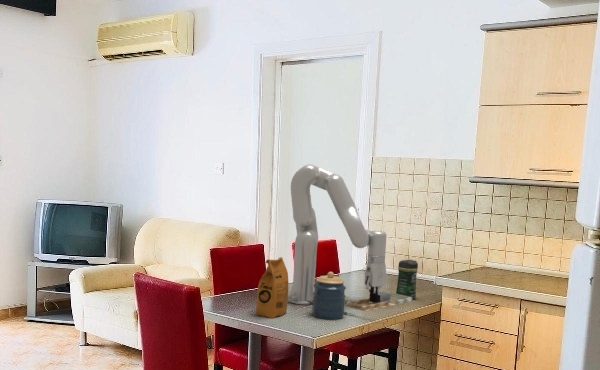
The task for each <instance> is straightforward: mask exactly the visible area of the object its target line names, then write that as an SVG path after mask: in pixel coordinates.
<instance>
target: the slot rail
mask: <svg viewBox="0 0 600 370" xmlns="http://www.w3.org/2000/svg"><path fill="white" fill-rule="evenodd" d="M389 293H391V294H390V297H393V298H397V300H395V303H391V302H388V301H385V302H380V303H376V304H375V303H372V302H370V301H369V298H370V297H367V298H362V299H357V300H351V301H347V302H345V304H344V307H349V308H353V309H357V310H360V311H364V312H368V311H373V310H377V309H382V308H387V307H390V306H391V307H392V306H396V305H401V304H404V303H408V302H413V300H414V299H413V297H408V296H404V295H400V294H396V292H389Z"/></svg>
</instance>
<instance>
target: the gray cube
mask: <svg viewBox="0 0 600 370" xmlns="http://www.w3.org/2000/svg"><path fill="white" fill-rule="evenodd" d="M385 296H386V294H382V293H378V301H377V302H375V304H376V303H380V302H385ZM372 303H374V302H372Z"/></svg>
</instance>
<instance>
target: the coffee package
mask: <svg viewBox="0 0 600 370" xmlns="http://www.w3.org/2000/svg"><path fill="white" fill-rule="evenodd" d="M265 263H266V264H267V265H268V266H266V270H265V272H264V273H263V274H262V276H261V278H260V279H259V282H258V285H257V293H256V295H257V297H256V298H257V299H256V305H255V307H256V308H255V311H256V312H255V313H256V315H257V316H262V317H266V318H270V319H274V318H277V317H282V316H284V315H285V314H287V309H288V294H289V272H288V269H287V266H286V264H285V262H284V259H283V257H282V256H280V257H278V259H266V260H265Z"/></svg>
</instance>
